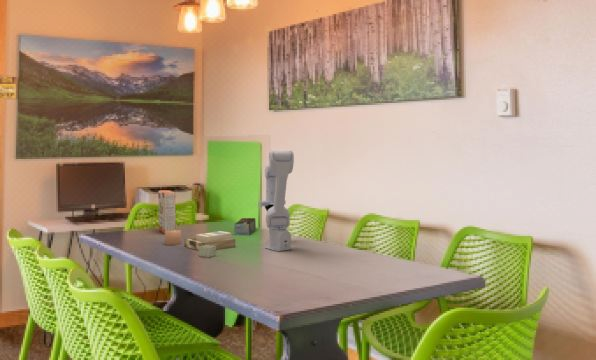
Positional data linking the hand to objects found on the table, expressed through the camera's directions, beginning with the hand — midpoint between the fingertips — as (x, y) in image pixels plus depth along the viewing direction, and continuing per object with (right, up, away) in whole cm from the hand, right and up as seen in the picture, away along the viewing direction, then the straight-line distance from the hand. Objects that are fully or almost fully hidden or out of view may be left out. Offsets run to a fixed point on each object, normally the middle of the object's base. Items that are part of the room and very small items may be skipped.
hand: (272, 220), depth 267 cm
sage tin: (-25, -12, -32) cm, 42 cm away
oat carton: (-25, -11, -12) cm, 30 cm away
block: (-44, -10, -6) cm, 46 cm away
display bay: (-26, -11, -12) cm, 31 cm away
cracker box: (-54, -8, +25) cm, 60 cm away
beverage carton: (-15, -8, +28) cm, 33 cm away
